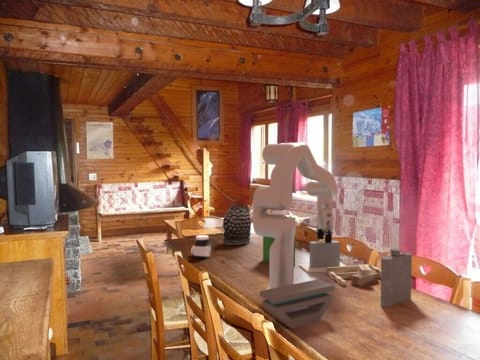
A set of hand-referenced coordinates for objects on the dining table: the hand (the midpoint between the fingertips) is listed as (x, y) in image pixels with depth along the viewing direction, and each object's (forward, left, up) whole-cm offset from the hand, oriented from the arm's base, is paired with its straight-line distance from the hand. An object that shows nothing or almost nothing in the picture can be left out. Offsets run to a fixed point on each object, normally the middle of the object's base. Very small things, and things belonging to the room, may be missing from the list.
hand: (324, 241), depth 192 cm
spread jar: (+35, +58, -14) cm, 69 cm away
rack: (-19, -8, -14) cm, 24 cm away
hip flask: (-48, -8, -14) cm, 50 cm away
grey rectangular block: (0, 0, -13) cm, 13 cm away
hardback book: (+15, +19, -14) cm, 28 cm away
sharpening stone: (-57, +33, -14) cm, 67 cm away
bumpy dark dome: (+65, +32, -14) cm, 74 cm away
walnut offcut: (-24, -9, -14) cm, 29 cm away
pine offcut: (-24, -9, -10) cm, 27 cm away
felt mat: (0, 0, -14) cm, 14 cm away
